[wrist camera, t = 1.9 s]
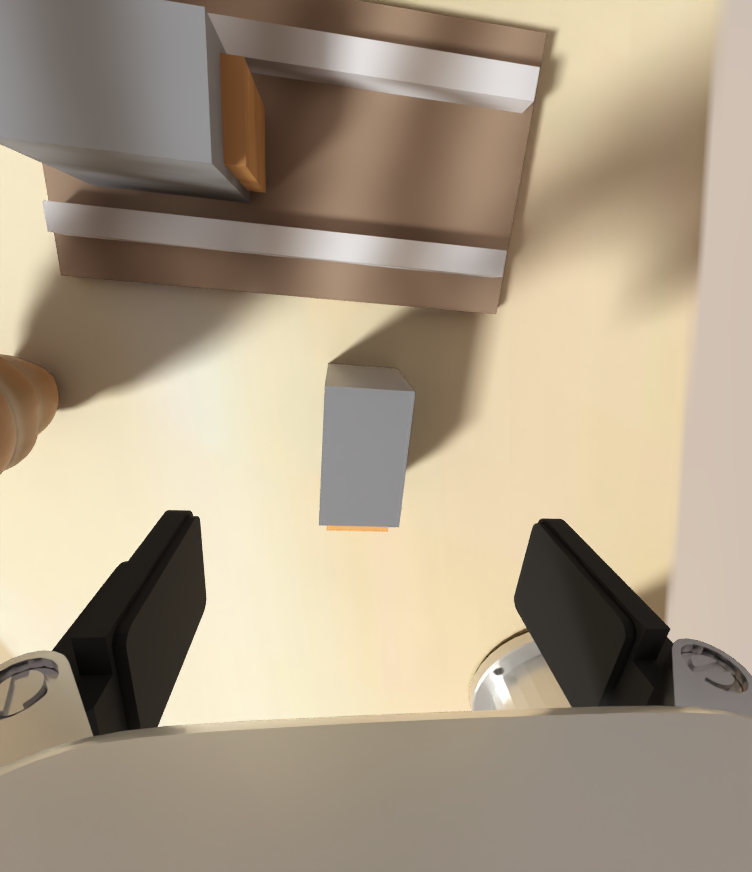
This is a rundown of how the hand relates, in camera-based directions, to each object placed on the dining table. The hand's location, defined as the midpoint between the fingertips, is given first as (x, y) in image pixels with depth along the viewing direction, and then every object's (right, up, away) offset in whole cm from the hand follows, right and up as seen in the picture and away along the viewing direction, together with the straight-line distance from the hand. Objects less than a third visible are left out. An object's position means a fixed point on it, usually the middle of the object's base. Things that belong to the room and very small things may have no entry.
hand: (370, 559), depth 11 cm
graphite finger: (-1, +4, +13) cm, 14 cm away
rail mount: (-4, +17, +8) cm, 19 cm away
